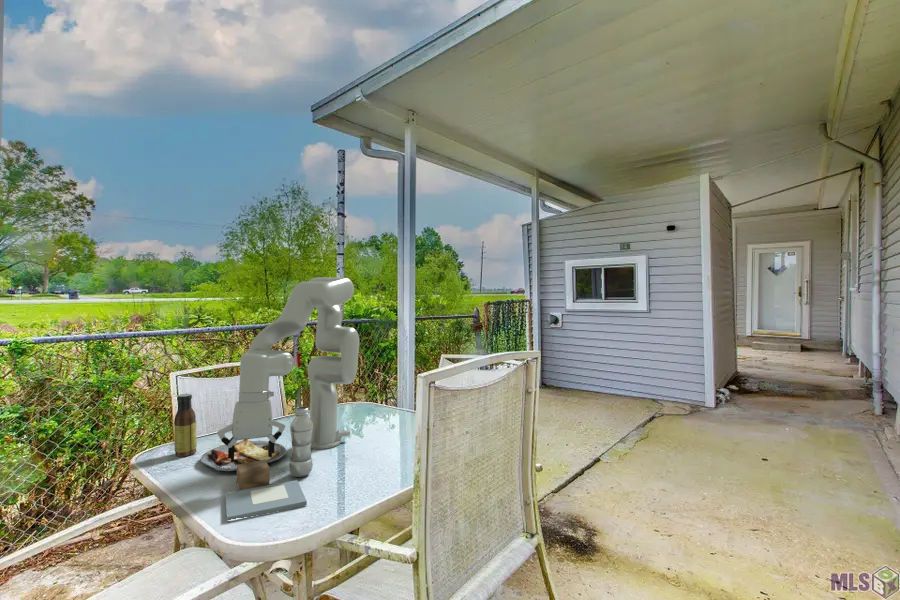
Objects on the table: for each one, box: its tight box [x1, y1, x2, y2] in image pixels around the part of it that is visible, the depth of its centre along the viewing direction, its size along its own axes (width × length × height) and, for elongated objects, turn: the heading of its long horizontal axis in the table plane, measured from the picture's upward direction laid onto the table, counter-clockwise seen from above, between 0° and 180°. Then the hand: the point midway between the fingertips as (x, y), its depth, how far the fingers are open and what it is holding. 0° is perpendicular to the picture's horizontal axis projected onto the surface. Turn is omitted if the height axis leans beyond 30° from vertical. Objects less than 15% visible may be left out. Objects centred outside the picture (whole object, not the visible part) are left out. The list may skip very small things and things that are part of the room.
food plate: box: [199, 439, 287, 472], centre depth 139 cm, size 25×23×4 cm
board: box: [224, 479, 308, 521], centre depth 110 cm, size 18×14×1 cm
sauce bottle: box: [173, 393, 198, 458], centre depth 142 cm, size 7×6×20 cm
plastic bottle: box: [288, 405, 314, 478], centre depth 127 cm, size 6×7×20 cm
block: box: [236, 460, 271, 491], centre depth 121 cm, size 8×8×5 cm
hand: (251, 458), depth 120 cm, fingers open, 9 cm apart
